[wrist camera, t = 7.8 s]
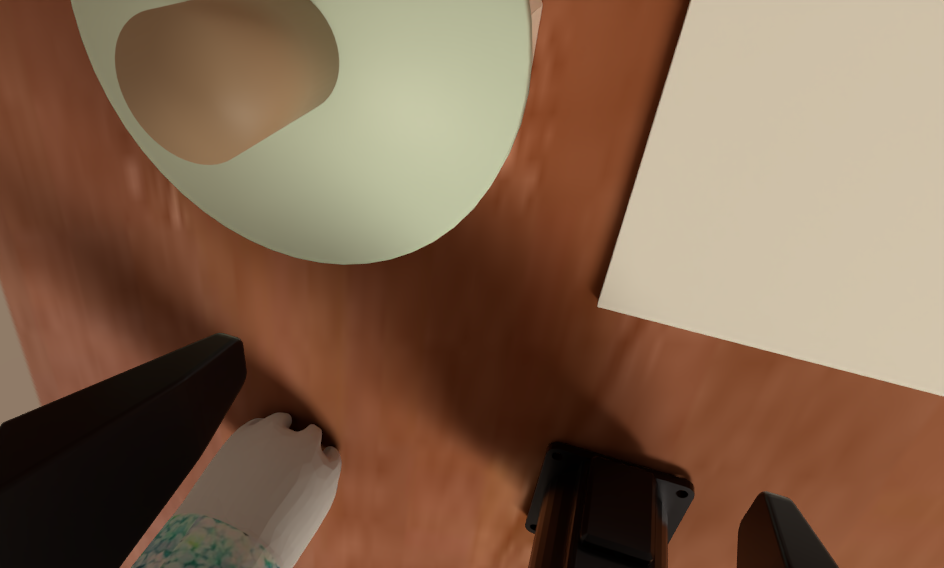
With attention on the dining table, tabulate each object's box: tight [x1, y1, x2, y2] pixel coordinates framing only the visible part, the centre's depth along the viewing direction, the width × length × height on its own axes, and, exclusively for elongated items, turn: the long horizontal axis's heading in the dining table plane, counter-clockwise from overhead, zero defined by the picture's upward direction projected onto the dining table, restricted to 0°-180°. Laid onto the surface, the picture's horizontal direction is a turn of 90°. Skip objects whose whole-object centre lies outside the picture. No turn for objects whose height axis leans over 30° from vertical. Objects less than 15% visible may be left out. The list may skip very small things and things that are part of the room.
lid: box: [71, 0, 533, 265], centre depth 14 cm, size 13×13×5 cm
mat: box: [597, 0, 944, 396], centre depth 17 cm, size 14×14×1 cm
